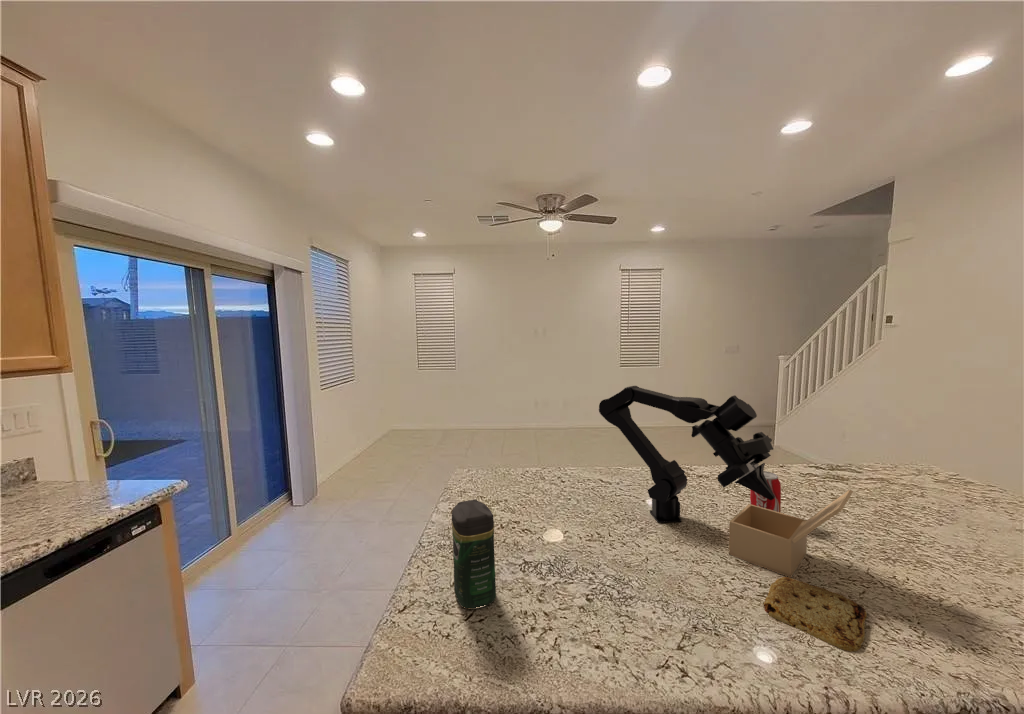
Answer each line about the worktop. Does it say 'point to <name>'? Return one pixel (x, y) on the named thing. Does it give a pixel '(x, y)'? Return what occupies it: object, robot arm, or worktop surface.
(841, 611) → the pastry
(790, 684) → the worktop surface
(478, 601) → the coffee jar
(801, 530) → the lid flap
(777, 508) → the soda can
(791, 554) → the carton
